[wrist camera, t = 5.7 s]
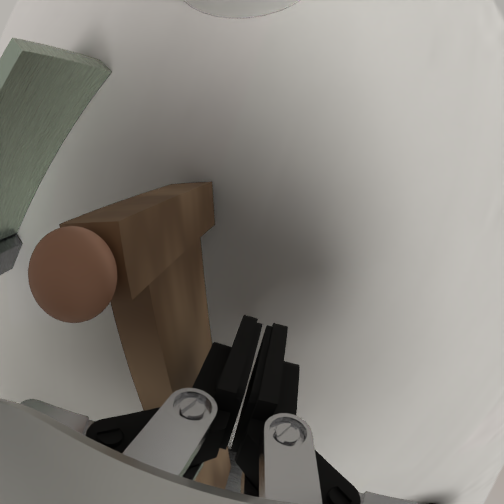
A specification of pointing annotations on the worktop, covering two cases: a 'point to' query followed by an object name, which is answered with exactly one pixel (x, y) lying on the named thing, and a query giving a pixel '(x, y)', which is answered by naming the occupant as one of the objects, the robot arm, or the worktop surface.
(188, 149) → the worktop surface
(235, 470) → the hinge post
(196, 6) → the cylindrical container
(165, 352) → the gate
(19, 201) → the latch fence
